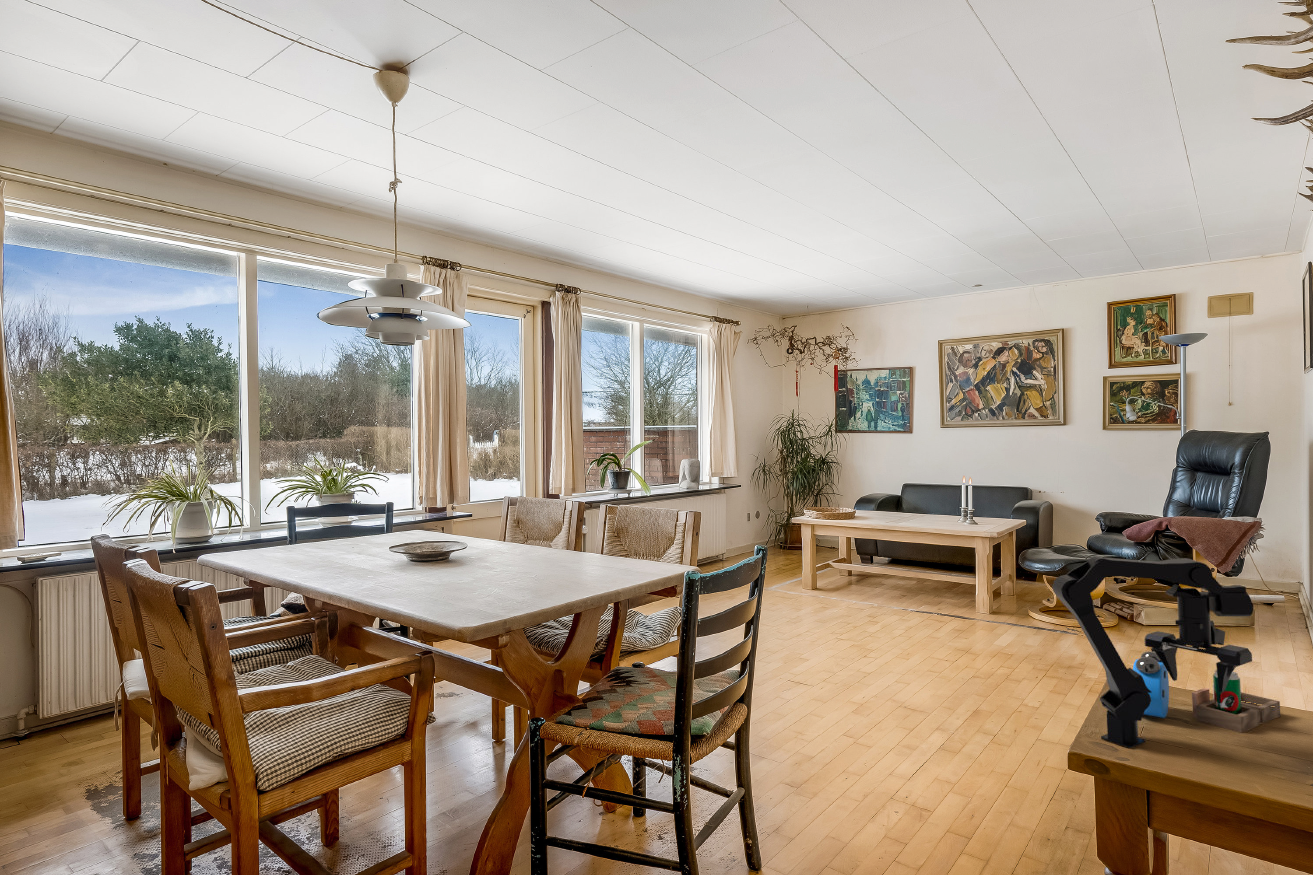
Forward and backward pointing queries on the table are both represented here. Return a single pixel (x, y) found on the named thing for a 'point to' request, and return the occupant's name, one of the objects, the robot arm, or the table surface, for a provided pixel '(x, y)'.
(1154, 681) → the alarm clock
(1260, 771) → the table surface
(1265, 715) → the socket block
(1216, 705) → the soda can
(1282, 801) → the table surface
